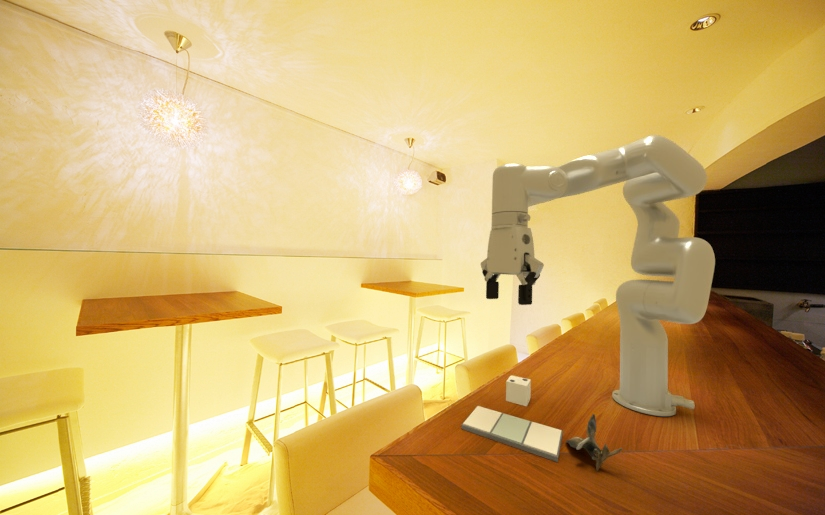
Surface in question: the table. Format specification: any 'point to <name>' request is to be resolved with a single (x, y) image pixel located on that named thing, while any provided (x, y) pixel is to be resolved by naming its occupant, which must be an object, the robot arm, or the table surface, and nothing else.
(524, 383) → the die
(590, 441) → the eagle figurine
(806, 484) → the table surface
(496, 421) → the game board
